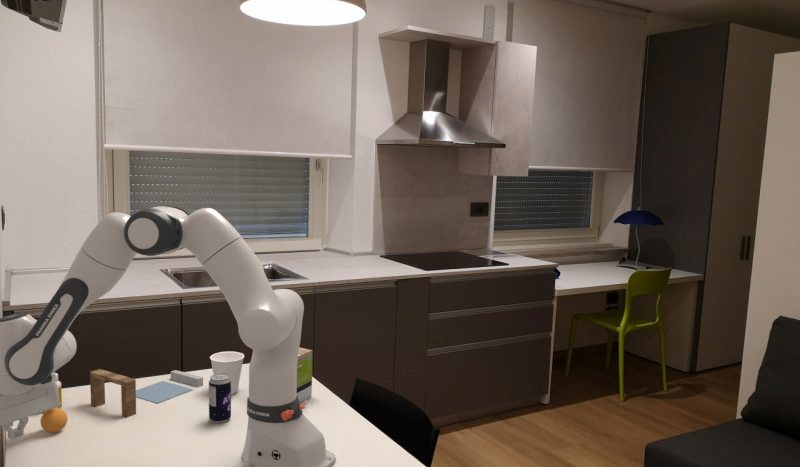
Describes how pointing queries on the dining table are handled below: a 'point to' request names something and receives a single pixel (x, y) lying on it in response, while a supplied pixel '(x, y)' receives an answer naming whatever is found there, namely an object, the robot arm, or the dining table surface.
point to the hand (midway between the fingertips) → (16, 437)
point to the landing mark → (161, 392)
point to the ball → (54, 420)
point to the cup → (228, 366)
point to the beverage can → (219, 398)
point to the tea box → (304, 374)
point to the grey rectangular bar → (186, 378)
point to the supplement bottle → (58, 391)
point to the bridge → (126, 383)
